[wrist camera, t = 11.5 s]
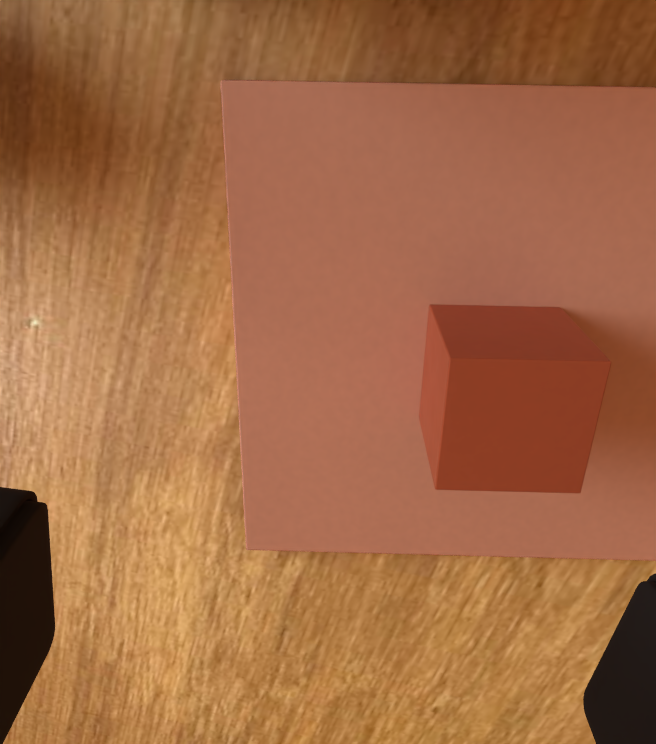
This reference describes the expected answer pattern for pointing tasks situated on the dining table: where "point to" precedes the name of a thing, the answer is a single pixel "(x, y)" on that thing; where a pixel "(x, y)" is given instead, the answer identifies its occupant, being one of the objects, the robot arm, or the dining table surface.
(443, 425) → the terracotta block
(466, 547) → the terracotta mat
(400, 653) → the dining table surface
